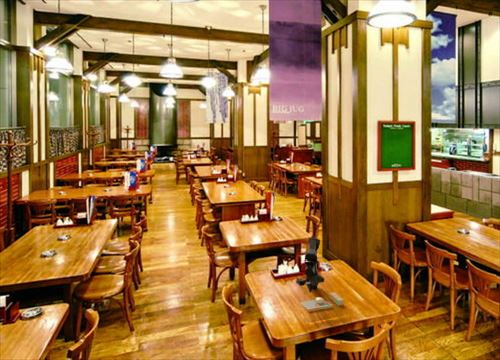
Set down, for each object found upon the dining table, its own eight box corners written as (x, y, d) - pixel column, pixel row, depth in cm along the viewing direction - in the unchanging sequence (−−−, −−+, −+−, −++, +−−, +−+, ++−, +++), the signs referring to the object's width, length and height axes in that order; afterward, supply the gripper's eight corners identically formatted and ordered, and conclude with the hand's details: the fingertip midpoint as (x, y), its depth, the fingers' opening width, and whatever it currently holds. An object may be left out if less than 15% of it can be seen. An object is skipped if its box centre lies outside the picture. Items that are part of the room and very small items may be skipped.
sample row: (328, 299, 253) (329, 293, 252) (334, 298, 254) (335, 292, 254) (337, 307, 242) (337, 300, 241) (343, 305, 244) (344, 299, 243)
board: (299, 303, 247) (299, 300, 246) (322, 299, 252) (322, 296, 252) (308, 313, 235) (308, 309, 234) (332, 308, 240) (332, 304, 240)
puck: (314, 301, 248) (314, 297, 248) (320, 300, 250) (320, 296, 249) (317, 304, 244) (317, 301, 243) (324, 303, 245) (324, 300, 245)
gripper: (303, 277, 230) (303, 299, 233) (328, 273, 236) (328, 295, 238) (296, 270, 241) (295, 292, 243) (320, 267, 246) (319, 288, 249)
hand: (310, 292), depth 243 cm, fingers closed
